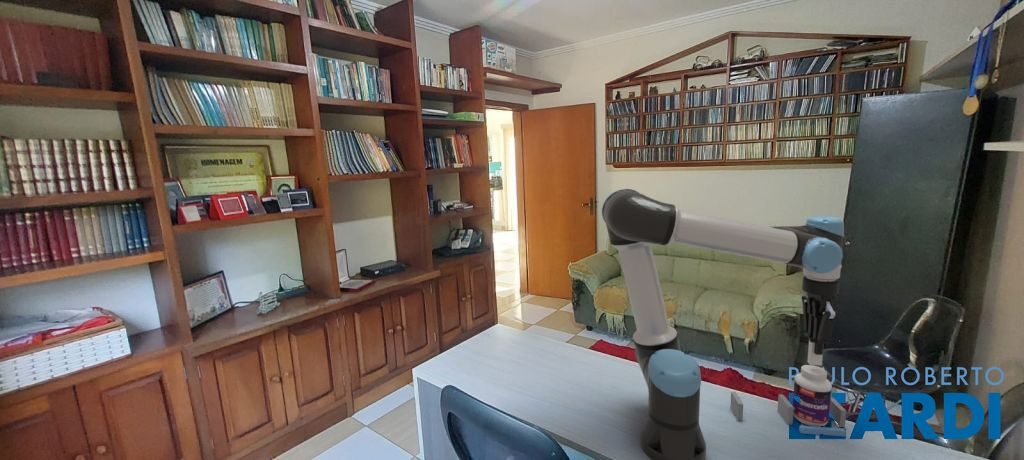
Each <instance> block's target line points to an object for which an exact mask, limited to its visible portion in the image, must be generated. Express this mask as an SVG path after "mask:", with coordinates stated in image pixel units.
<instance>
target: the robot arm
mask: <svg viewBox="0 0 1024 460" xmlns="http://www.w3.org/2000/svg"><path fill="white" fill-rule="evenodd" d="M602 204H603V205H602V208H601V216H602V219H603V221H604V222H605V226H606V229H607V230H606V231H607V234H608V238H609V243H610V245H611V246H612V247H614V249H616V250H618V255H619V259H620V260H619V261H620V263H621V268H622V272H623V275H624V276H623V277H624V280H625V284H626V290H627V294H628V298H629V302H630V306H631V311H632V315H633V318H634V323H635V327H636V330H635V332H634V333H633V335H632V339H633V343H634V348H635V350H634V351H635V352H634V355H635V359H636V362H637V364H638V366H639V367H640V370H641V373H642V375H643V377H644V381H645V382H646V383H645V384H646V385H647V390H648V391H647V392H648V403H647V404H648V405H647V406H648V407H647V408H648V409H647V410H648V411H647V412H648V414H647V416H646V419H645V421H644V424H643V426H642V429H641V432H640V445H641V448H642V450H643V452H644V453H645V454H646V455H647V456H648V457H649V458H650V459H652V460H705V459H706V457H707V446H706V445H707V444H706V440H705V437H704V435H703V431H702V429H701V425H700V402H701V401H700V399H701V385H702V376H701V369H700V366H699V363H698V362H697V360H696V359H695V358H694V357H692V356H691V355H690V354H686V353H685V352H684V351H682V350H681V349H682V348H681V346H680V341H679V337H678V331H677V330H676V329H675V328H674V327H672V326H671V325H670V322H669V318H668V313H667V311H666V306H665V300H664V297H663V296H664V295H663V292H662V288H661V284H660V283H661V282H660V279H659V274H658V271H657V265H656V261H655V255H654V251H653V247H652V244H654V245H660V246H665V247H666V246H669V245H670V244H672V243H673V244H678V245H683V246H689V247H694V248H699V249H700V248H701V249H705V250H709V251H716V252H720V253H726V254H731V255H735V256H741V257H742V256H743V257H748V258H753V259H758V260H764V261H768V262H773V263H779V264H783V265H787V266H792V267H798V268H802V269H803V270H802V275H804V276H803V277H802V283H801V284H802V287H801V289H802V290H803V292H805V293H806V295H802V296H801V302H802V303H801V304H802V310H803V313H802V314H803V330H804V333H805V334H807V338H808V350H807V363H808V365H813V366H823V356H824V344H831V340H832V337H833V333H834V328H835V324H836V321H837V319H838V317H839V316H840V315H839V314H840V313H839V311H834V309H833V306H834V303H833V297H834V296H835V297H836V296H837V295H838V294H840V283H841V281H840V280H839V279H840V278H841V269H842V268H843V266H842V261H843V257H844V255H843V246H844V238H845V222H844V220H842V218H840V217H837V216H836V217H835V216H827V215H826V216H820V215H818V216H809V217H808V218H807V219H806V221H805V225H795V226H794V225H793V226H792V225H791V226H790V225H789V226H787V225H786V226H784V225H783V226H782V225H781V226H779V225H778V226H772V225H770V226H766V225H765V226H764V225H761V224H760V225H759V224H754V223H749V222H744V221H739V220H738V221H737V220H732V219H727V218H722V217H717V216H711V215H705V214H702V213H701V214H700V213H696V212H691V211H684V210H679V208H678V207H677V205H675V204H672V203H667V202H662V201H659V200H656V199H654V198H652V197H649V196H647V195H645V194H643V193H640V192H639V191H637V190H635V189H630V188H624V189H619V190H615V191H613V192H611V193H610V194H608V196H606V199H605V200H604V201H603V203H602Z"/></svg>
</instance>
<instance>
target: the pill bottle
mask: <svg viewBox="0 0 1024 460" xmlns="http://www.w3.org/2000/svg"><path fill="white" fill-rule="evenodd" d="M827 377H828V371H827V370H825V368H822V367H820V366H818V365H810V364H803V365H802V366H801V368H800V372H799V373H797V374H796V375H795V376H794V383H793V394H792V395H793V397H792V405H793V407H794V411H793V418H794V419H796V420H797V421H799V422H800V423H801V424H804V425H805V426H813V427H821V426H823V427H826V426H827V425H828V424H829V422H828V420H829V421H830V417H829V412H830V402H831V397H832V391H833V385H832V383H831V382H830V380H829V379H828V378H827ZM798 395H799V396H798ZM794 396H798V397H800V403H799V402H797V401H796V400H795V399H794ZM827 423H828V424H827ZM826 424H827V425H826ZM825 425H826V426H825Z"/></svg>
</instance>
